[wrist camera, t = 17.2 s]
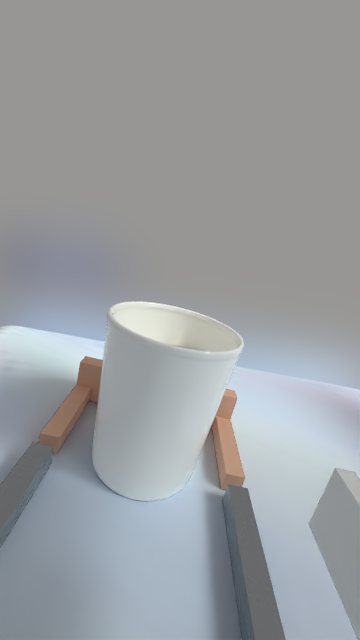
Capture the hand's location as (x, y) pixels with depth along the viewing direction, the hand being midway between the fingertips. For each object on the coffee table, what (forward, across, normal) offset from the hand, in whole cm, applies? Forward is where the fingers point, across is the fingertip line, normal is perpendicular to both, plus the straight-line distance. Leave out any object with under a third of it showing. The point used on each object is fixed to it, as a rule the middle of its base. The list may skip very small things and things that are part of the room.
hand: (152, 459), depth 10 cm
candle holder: (+11, 0, -10) cm, 15 cm away
